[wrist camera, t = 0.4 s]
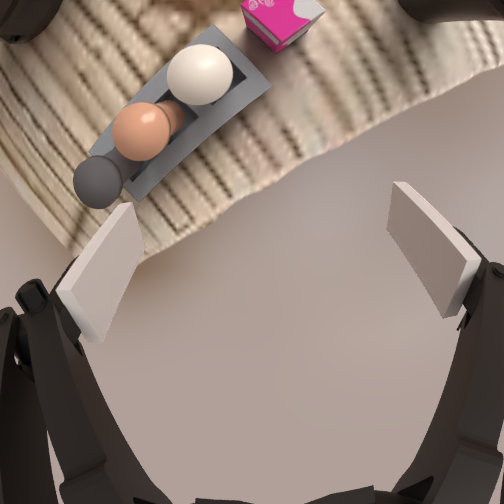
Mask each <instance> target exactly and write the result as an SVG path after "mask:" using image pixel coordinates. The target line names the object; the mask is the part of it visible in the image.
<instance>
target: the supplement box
mask: <svg viewBox="0 0 504 504" xmlns="http://www.w3.org/2000/svg"><path fill="white" fill-rule="evenodd" d="M241 8H242V11H243V15H244V18H245V22H246V26H247V27H248V28H249V29H250V30H251V31H252V32H254V33H255V34H256V35H257V36H258V37H259V38H260V39H261V40H262V41H263V42H264V43H265V44H266V45H267V46H268V47H269V48H270V49H272V50H273V51H274V52H275V53H278V52H280V51H281V50H283V49H284V48H285V47H287V46H288V45H289V44H291V43H292V42H293V41H295V40H296V39H297V38H299V37H300V36H301V35H303V34H304V33H305V32H307V31H308V29H309V28H310V27H311V26H312V25H313V24H314V23H315V22H316V21H317V20H318V19H319V18H320V17H321V16H322V15H323V14H324V12H326V10H325V9H324V8H323V7H322V6H320V5H319V4H318V3H317V2H316V1H315V0H246V1H244V2H243V3H242V4H241Z"/></svg>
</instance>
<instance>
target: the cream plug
mask: <svg viewBox="0 0 504 504" xmlns="http://www.w3.org/2000/svg"><path fill="white" fill-rule="evenodd" d="M232 79H233V68H232V64H231V62H230V60H229V58H228V57H227V56H226V55H225V54H224V53H223V52H222V51H220V50H219V49H217V48H215V47H213V46H210V45H203V44H199V45H193V46H189V47H187V48H185V49H183V50H181V51H180V52H179V53H177V54H176V55H175V56H174V58H173V59H172V61H171V62H170V64H169V67H168V70H167V83H168V87H169V89H170V91H171V92H172V94H173V95H174V96H175V97H176V98H177V99H179V100H180V101H182V102H184V103H187V104H190V105H205V104H209V103H211V102H213V101H215V100H217V99H219V98H220V97H222V96H223V95H224V94H225V93H226V92H227V90H228V89H229V87H230V85H231V83H232Z"/></svg>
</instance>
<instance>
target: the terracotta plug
mask: <svg viewBox="0 0 504 504" xmlns="http://www.w3.org/2000/svg"><path fill="white" fill-rule="evenodd" d="M184 121H185V112H184V110H183V108H182V106H181V105H180V104H178V103H177V102H175V101H170V100H167V101H163V102H159V103H156V104H154V103H151V102H139V103H135V104H131V105H129V106H127V107H125V108H124V109H123V110H121V111H120V113H119V114H118V115H117V117H116V118H115V120H114V123H113V127H112V138H113V142H114V144H115V146H116V148H117V149H118V151H119V152H120V153H121V154H122V155H123V156H125V157H126V158H128V159H131V160H134V161H145V160H148V159H151V158H153V157H154V156H156V155H157V154H158V153H159V152H161V151H162V150H163V149H164V148H165V146H166V145H167V143H168V141H169V139H170V136H171V135H172V134H174V133H175V132H176V131H178V130H179V129H180V128H181V127H182V125H183V124H184Z"/></svg>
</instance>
